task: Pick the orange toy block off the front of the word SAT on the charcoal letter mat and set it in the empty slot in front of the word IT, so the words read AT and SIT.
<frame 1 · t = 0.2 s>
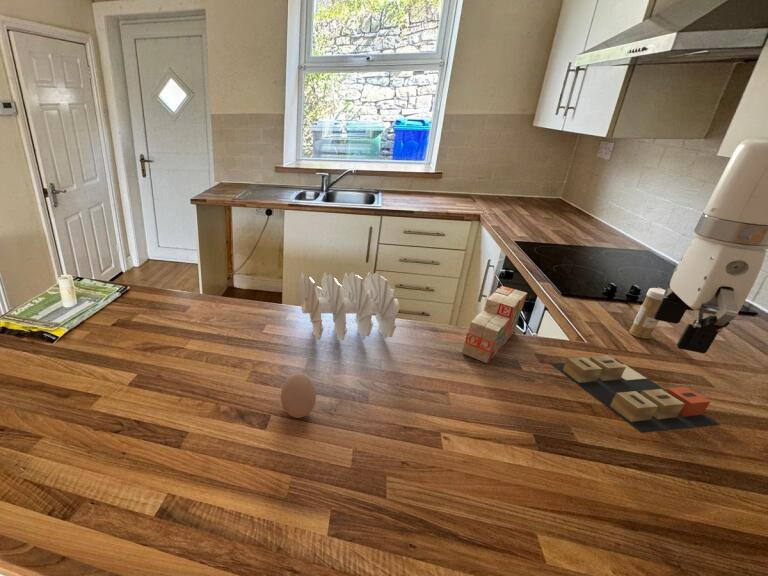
hand: (677, 334, 64), 24 cm above the worktop, tool pointing down, fingers open, 9 cm apart
word tiles: (618, 385, 86), on the letter mat, point 2 cm above the worktop
orange toy block: (680, 408, 82), point 1 cm above the worktop, touching letter mat
white pleated sculpture: (346, 334, 108), on the worktop
sprinkles bottle: (638, 335, 109), on the worktop
stack of blocks: (488, 343, 105), on the worktop
egg: (296, 414, 80), on the worktop
letter mat: (626, 393, 87), on the worktop
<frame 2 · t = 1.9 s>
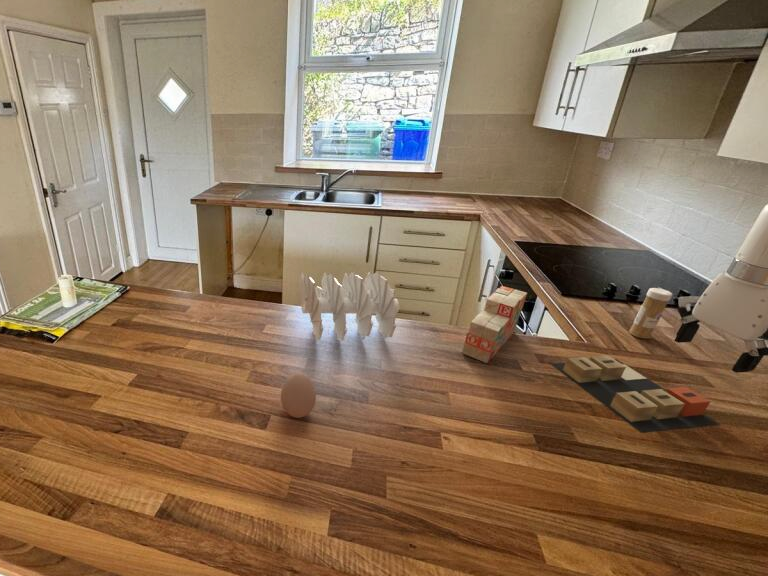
hand: (709, 355, 77), 14 cm above the worktop, tool pointing down, fingers open, 9 cm apart
nothing on the worktop moved.
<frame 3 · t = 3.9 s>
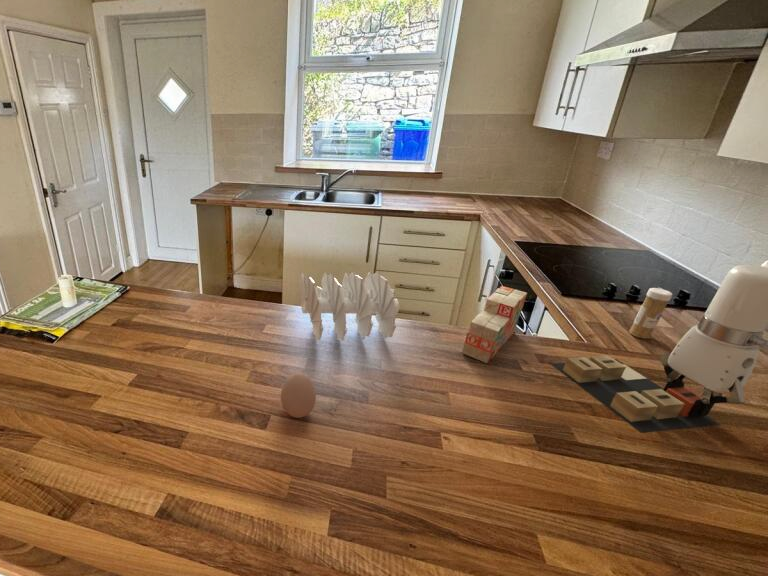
hand: (681, 405, 82), 1 cm above the worktop, tool pointing down, fingers closed on orange toy block, 4 cm apart
orange toy block: (680, 408, 82), point 1 cm above the worktop, touching gripper, letter mat
everything else where it was.
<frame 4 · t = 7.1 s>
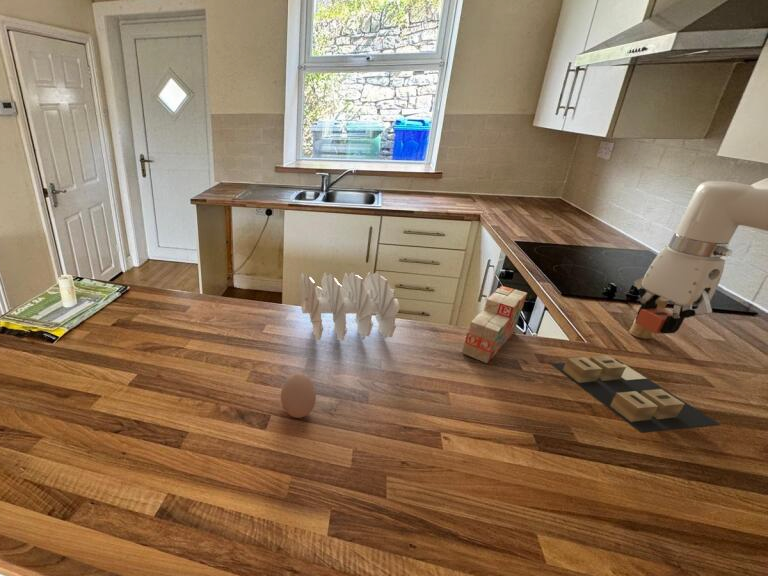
hand: (654, 325, 86), 14 cm above the worktop, tool pointing down, fingers closed on orange toy block, 4 cm apart
orange toy block: (653, 327, 87), point 13 cm above the worktop, touching gripper
everything else where it was.
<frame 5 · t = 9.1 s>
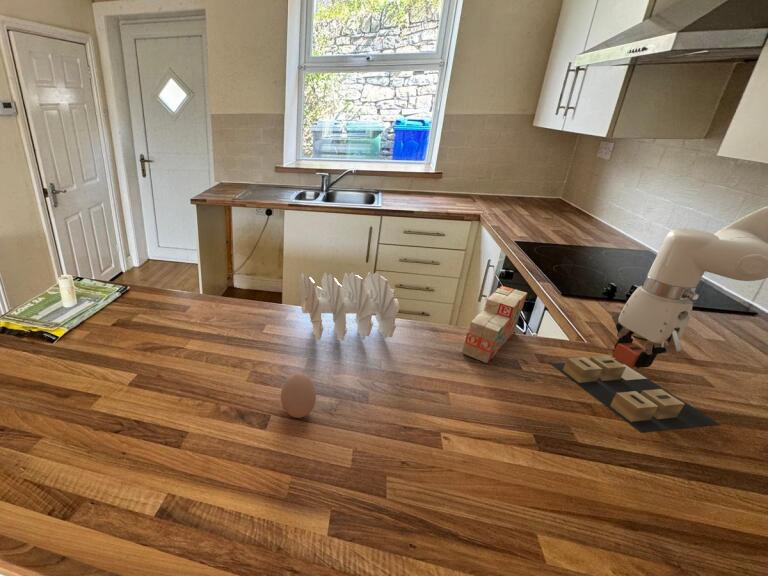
hand: (630, 359, 92), 4 cm above the worktop, tool pointing down, fingers closed on orange toy block, 4 cm apart
orange toy block: (629, 361, 92), point 4 cm above the worktop, touching gripper
everything else where it was.
when the fingers open (1 cm above the worktop, at t = 10.3 s): orange toy block stays where it is, resting on letter mat.
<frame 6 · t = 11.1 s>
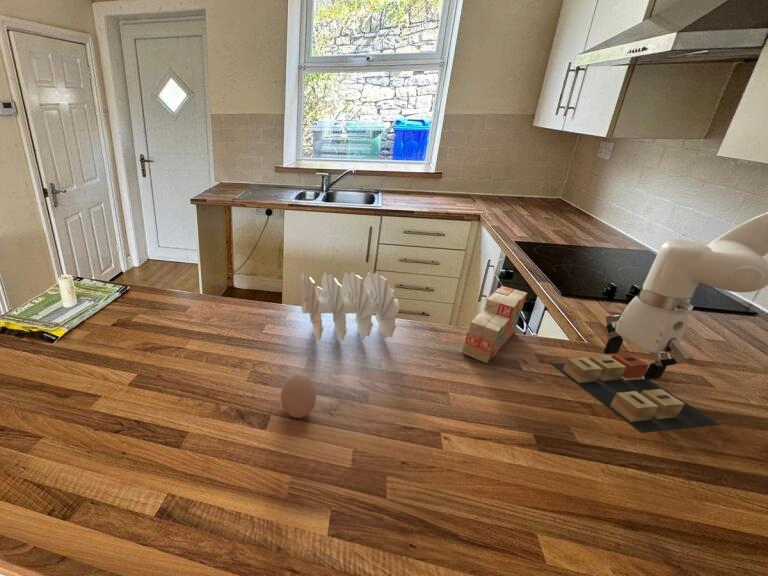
hand: (629, 365, 92), 3 cm above the worktop, tool pointing down, fingers open, 9 cm apart
orange toy block: (624, 371, 93), point 1 cm above the worktop, touching letter mat
everything else where it was.
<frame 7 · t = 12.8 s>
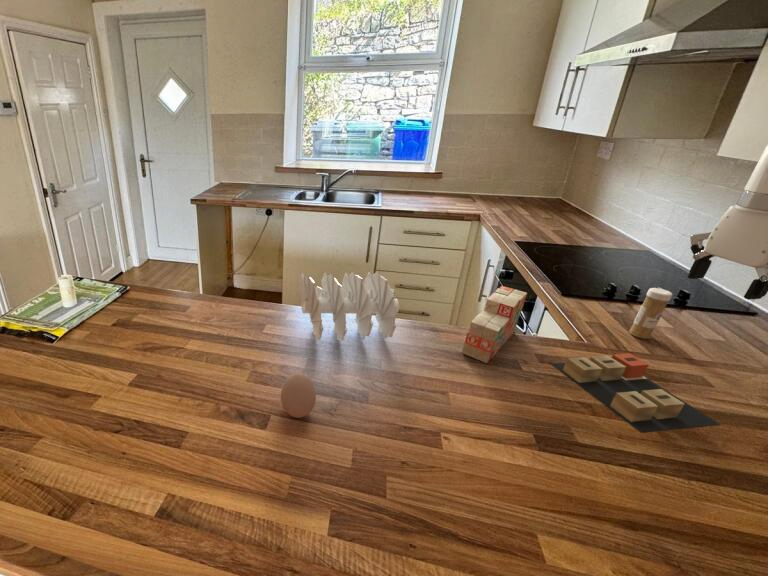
hand: (722, 287, 80), 24 cm above the worktop, tool pointing down, fingers open, 9 cm apart
nothing on the worktop moved.
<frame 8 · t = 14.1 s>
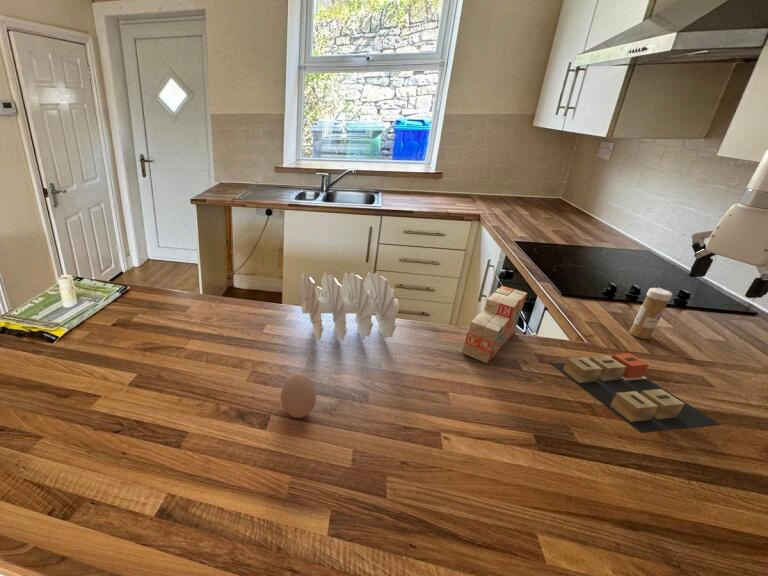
hand: (723, 286, 80), 24 cm above the worktop, tool pointing down, fingers open, 9 cm apart
nothing on the worktop moved.
at the end: orange toy block 0.1 cm from the target spot on the letter mat, point 0.7 cm above the letter mat's base; orange toy block tilted 0°; the gripper is holding nothing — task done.
